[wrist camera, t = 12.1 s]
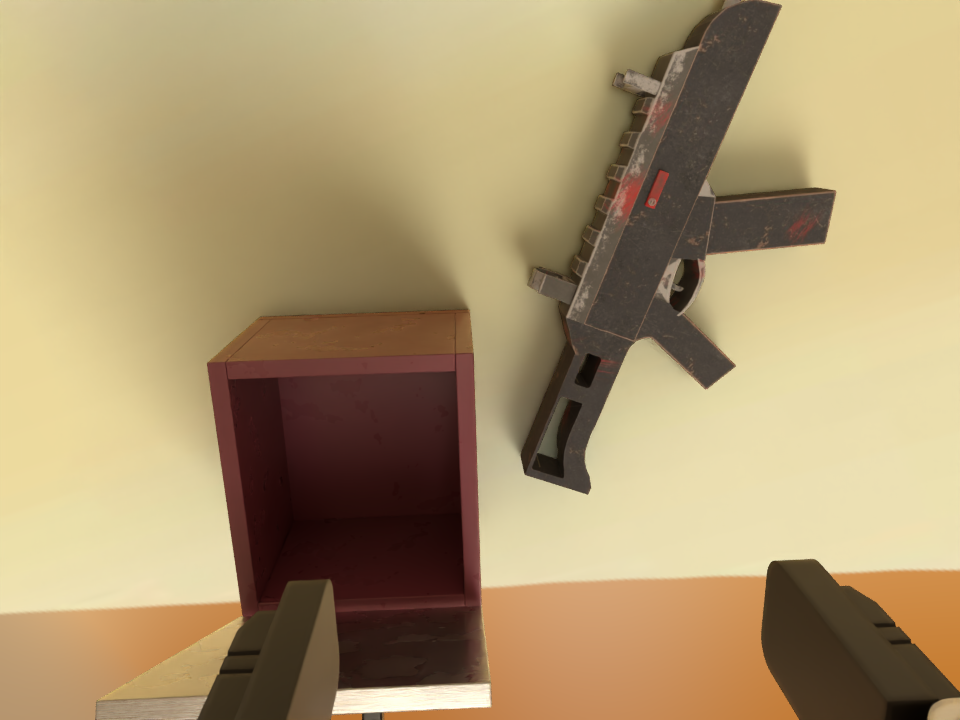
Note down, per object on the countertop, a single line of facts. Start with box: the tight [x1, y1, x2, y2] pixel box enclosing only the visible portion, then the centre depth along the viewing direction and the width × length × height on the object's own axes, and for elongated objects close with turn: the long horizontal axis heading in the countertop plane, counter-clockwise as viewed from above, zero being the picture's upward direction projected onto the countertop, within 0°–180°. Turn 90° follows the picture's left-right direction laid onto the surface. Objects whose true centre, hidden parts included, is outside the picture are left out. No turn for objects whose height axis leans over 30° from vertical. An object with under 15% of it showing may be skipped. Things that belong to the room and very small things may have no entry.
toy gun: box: [520, 0, 836, 494], centre depth 42 cm, size 3×32×15 cm
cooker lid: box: [95, 606, 492, 720], centre depth 30 cm, size 15×13×6 cm
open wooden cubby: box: [207, 310, 482, 616], centre depth 41 cm, size 14×13×10 cm
